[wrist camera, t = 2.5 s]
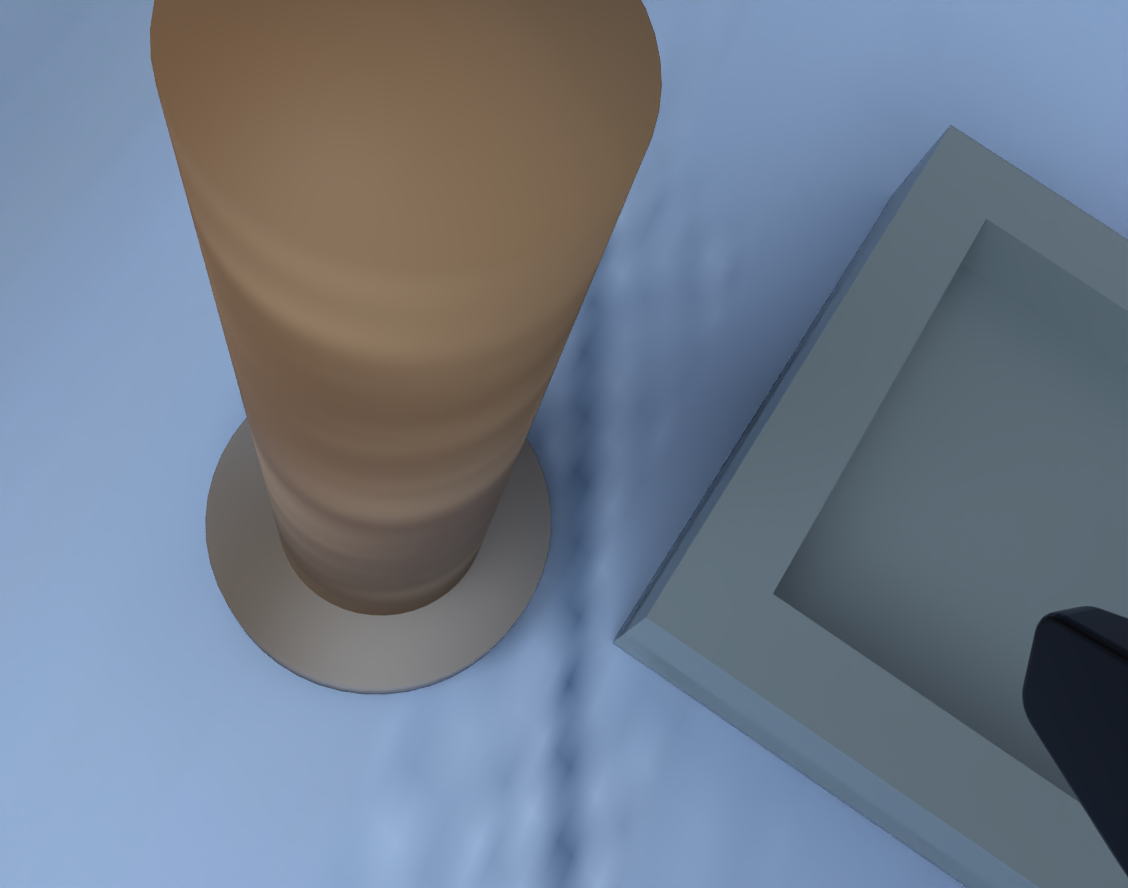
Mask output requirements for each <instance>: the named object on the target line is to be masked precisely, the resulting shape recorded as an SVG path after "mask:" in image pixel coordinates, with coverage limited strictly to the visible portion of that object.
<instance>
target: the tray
mask: <svg viewBox="0 0 1128 888" xmlns="http://www.w3.org/2000/svg"><path fill="white" fill-rule="evenodd" d="M1080 606H1094V607H1098V608H1101V609H1104V610H1106V611H1109V612H1112V613H1115V614H1118V615H1121V616H1123V617H1126V618H1128V240H1127V239H1126V238H1124V237H1123V236H1121V235H1120V234H1118V233H1117V232H1115V231H1114V230H1112V229H1110V228H1109V227H1107V226H1106V225H1104V224H1103V223H1101V222H1100V221H1098V220H1097V219H1095V218H1093V217H1092V216H1090V215H1089V214H1087V213H1086V212H1084V211H1083V210H1081V209H1080V208H1078V207H1077V206H1075V205H1073V204H1072V203H1070V202H1069V201H1067V200H1066V199H1064V198H1063V197H1061V196H1060V195H1058V194H1057V193H1055V192H1053V191H1052V190H1050V189H1049V188H1047V187H1046V186H1044V185H1043V184H1041V183H1040V182H1038V181H1036V180H1035V179H1033V178H1032V177H1030V176H1029V175H1027V174H1026V173H1024V172H1023V171H1021V170H1020V169H1018V168H1016V167H1015V166H1013V165H1012V164H1010V163H1009V162H1007V161H1006V160H1004V159H1003V158H1001V157H999V156H998V155H996V154H995V153H993V152H992V151H990V150H989V149H987V148H986V147H984V146H983V145H981V144H979V143H978V142H976V141H975V140H973V139H972V138H970V137H969V136H967V135H966V134H964V133H963V132H961V131H959V130H958V129H956V128H955V127H953V126H952V125H950V126H949V128H948V129H947V130H946V131H945V132H944V134H943V135H942V136H941V137H940V138H939V140H938V141H937V142H936V143H935V144H934V146H933V147H932V148H931V149H930V150H929V152H928V153H927V154H926V155H925V156H924V158H923V159H922V160H921V161H920V162H919V164H918V165H917V166H916V167H915V168H914V170H913V171H912V172H911V173H910V174H909V176H908V177H907V178H906V179H905V180H904V182H903V183H902V184H901V185H900V186H899V188H898V189H897V190H896V191H895V193H894V194H893V196H892V197H891V199H890V201H889V202H888V204H887V205H886V207H885V209H884V210H883V212H882V213H881V215H880V217H879V218H878V220H877V221H876V223H875V224H874V226H873V228H872V229H871V231H870V232H869V234H868V236H867V237H866V239H865V240H864V242H863V244H862V245H861V247H860V248H859V250H858V252H857V253H856V255H855V256H854V258H853V260H852V261H851V263H850V264H849V266H848V268H847V269H846V271H845V272H844V274H843V276H842V277H841V279H840V280H839V282H838V284H837V285H836V287H835V288H834V290H833V292H832V293H831V295H830V296H829V298H828V299H827V301H826V303H825V304H824V306H823V307H822V309H821V311H820V312H819V314H818V315H817V317H816V319H815V320H814V322H813V323H812V325H811V327H810V328H809V330H808V331H807V333H806V335H805V336H804V338H803V339H802V341H801V343H800V344H799V346H798V347H797V349H796V351H795V352H794V354H793V355H792V357H791V359H790V360H789V362H788V363H787V365H786V366H785V368H784V370H783V371H782V373H781V374H780V376H779V378H778V379H777V381H776V382H775V384H774V386H773V387H772V389H771V390H770V392H769V394H768V395H767V397H766V398H765V400H764V402H763V403H762V405H761V406H760V408H759V410H758V411H757V413H756V414H755V416H754V418H753V419H752V421H751V422H750V424H749V426H748V427H747V429H746V430H745V432H744V434H743V435H742V437H741V438H740V440H739V441H738V443H737V445H736V446H735V448H734V449H733V451H732V453H731V454H730V456H729V457H728V459H727V461H726V462H725V464H724V465H723V467H722V469H721V470H720V472H719V473H718V475H717V477H716V478H715V480H714V481H713V483H712V485H711V486H710V488H709V489H708V491H707V493H706V494H705V496H704V497H703V499H702V501H701V502H700V504H699V505H698V507H697V508H696V510H695V512H694V513H693V515H692V516H691V518H690V520H689V521H688V523H687V524H686V526H685V528H684V529H683V531H682V532H681V534H680V536H679V537H678V539H677V540H676V542H675V544H674V545H673V547H672V548H671V550H670V552H669V553H668V555H667V556H666V558H665V560H664V561H663V563H662V564H661V566H660V568H659V569H658V571H657V572H656V574H655V575H654V577H653V579H652V580H651V582H650V583H649V585H648V587H647V588H646V590H645V591H644V593H643V595H642V596H641V598H640V599H639V601H638V603H637V604H636V606H635V607H634V609H633V611H632V612H631V614H630V615H629V617H628V619H627V620H626V622H625V623H624V625H623V627H622V628H621V630H620V631H619V633H618V635H617V636H616V638H615V639H614V641H613V643H614V644H615V645H617V646H618V647H619V648H621V649H622V650H624V651H625V652H627V653H628V654H630V655H631V656H633V657H634V658H635V659H637V660H638V661H640V662H641V663H643V664H644V665H646V666H647V667H648V668H650V669H651V670H653V671H654V672H656V673H657V674H659V675H660V676H662V677H663V678H664V679H666V680H667V681H669V682H670V683H672V684H673V685H675V686H676V687H677V688H679V689H680V690H682V691H683V692H685V693H686V694H688V695H689V696H691V697H692V698H693V699H695V700H696V701H698V702H699V703H701V704H702V705H704V706H705V707H706V708H708V709H709V710H711V711H712V712H714V713H715V714H717V715H718V716H720V717H721V718H722V719H724V720H725V721H727V722H728V723H730V724H731V725H733V726H734V727H735V728H737V729H738V730H740V731H741V732H743V733H744V734H746V735H747V736H749V737H750V738H751V739H753V740H754V741H756V742H757V743H759V744H760V745H762V746H763V747H765V748H766V749H767V750H769V751H770V752H772V753H773V754H775V755H776V756H778V757H779V758H780V759H782V760H783V761H785V762H786V763H788V764H789V765H791V766H792V767H794V768H795V769H796V770H798V771H799V772H801V773H802V774H804V775H805V776H807V777H808V778H809V779H811V780H812V781H814V782H815V783H817V784H818V785H820V786H821V787H823V788H824V789H825V790H827V791H828V792H830V793H831V794H833V795H834V796H836V797H837V798H838V799H840V800H841V801H843V802H844V803H846V804H847V805H849V806H850V807H852V808H853V809H854V810H856V811H857V812H859V813H860V814H862V815H863V816H865V817H866V818H867V819H869V820H870V821H872V822H873V823H875V824H876V825H878V826H879V827H881V828H882V829H883V830H885V831H886V832H888V833H889V834H891V835H892V836H894V837H895V838H896V839H898V840H899V841H901V842H902V843H904V844H905V845H907V846H908V847H910V848H911V849H912V850H914V851H915V852H917V853H918V854H920V855H921V856H923V857H924V858H925V859H927V860H928V861H930V862H931V863H933V864H934V865H936V866H937V867H939V868H940V869H941V870H943V871H944V872H946V873H947V874H949V875H950V876H952V877H953V878H955V879H956V880H957V881H959V882H960V883H962V884H963V885H965V886H966V887H968V888H1128V877H1127V876H1126V874H1125V873H1124V871H1123V870H1122V868H1121V867H1120V865H1119V864H1118V862H1117V861H1116V859H1115V858H1114V856H1113V855H1112V853H1111V851H1110V850H1109V848H1108V847H1107V845H1106V843H1105V842H1104V840H1103V839H1102V837H1101V835H1100V834H1099V832H1098V831H1097V829H1096V828H1095V826H1094V824H1093V823H1092V821H1091V820H1090V818H1089V816H1088V815H1087V813H1086V812H1085V810H1084V808H1083V807H1082V805H1081V804H1080V802H1079V801H1078V799H1077V797H1076V796H1075V794H1074V793H1073V791H1072V789H1071V788H1070V786H1069V785H1068V783H1067V781H1066V780H1065V778H1064V777H1063V775H1062V774H1061V772H1060V770H1059V769H1058V767H1057V766H1056V764H1055V762H1054V761H1053V759H1052V758H1051V756H1050V754H1049V753H1048V751H1047V750H1046V748H1045V746H1044V745H1043V743H1042V742H1041V740H1040V739H1039V737H1038V735H1037V734H1036V732H1035V731H1034V729H1033V727H1032V726H1031V724H1030V722H1029V720H1028V718H1027V716H1026V713H1025V711H1024V707H1023V702H1022V688H1023V683H1024V678H1025V674H1026V669H1027V665H1028V660H1029V656H1030V651H1031V647H1032V642H1033V638H1034V633H1035V629H1036V626H1037V624H1038V623H1039V621H1040V620H1041V619H1042V617H1043V616H1045V615H1047V614H1048V613H1051V612H1055V611H1060V610H1065V609H1070V608H1075V607H1080Z"/></svg>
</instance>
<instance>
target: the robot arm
mask: <svg viewBox="0 0 1128 888" xmlns="http://www.w3.org/2000/svg"><path fill="white" fill-rule="evenodd" d="M1022 702H1023V707H1024V711H1025V713H1026V716H1027V718H1028V720H1029V722H1030V724H1031V726H1032V727H1033V729H1034V731H1035V732H1036V734H1037V735H1038V737H1039V739H1040V740H1041V742H1042V743H1043V745H1044V746H1045V748H1046V750H1047V751H1048V753H1049V754H1050V756H1051V758H1052V759H1053V761H1054V762H1055V764H1056V766H1057V767H1058V769H1059V770H1060V772H1061V774H1062V775H1063V777H1064V778H1065V780H1066V781H1067V783H1068V785H1069V786H1070V788H1071V789H1072V791H1073V793H1074V794H1075V796H1076V797H1077V799H1078V801H1079V802H1080V804H1081V805H1082V807H1083V808H1084V810H1085V812H1086V813H1087V815H1088V816H1089V818H1090V820H1091V821H1092V823H1093V824H1094V826H1095V828H1096V829H1097V831H1098V832H1099V834H1100V835H1101V837H1102V839H1103V840H1104V842H1105V843H1106V845H1107V847H1108V848H1109V850H1110V851H1111V853H1112V855H1113V856H1114V858H1115V859H1116V861H1117V862H1118V864H1119V865H1120V867H1121V868H1122V870H1123V871H1124V873H1125V874H1126V876H1127V877H1128V618H1126V617H1123V616H1121V615H1118V614H1115V613H1112V612H1109V611H1106V610H1104V609H1101V608H1098V607H1094V606H1080V607H1075V608H1070V609H1065V610H1060V611H1055V612H1051V613H1048V614H1047V615H1045V616H1043V617H1042V619H1041V620H1040V621H1039V623H1038V624H1037V626H1036V629H1035V633H1034V638H1033V642H1032V647H1031V651H1030V656H1029V660H1028V665H1027V669H1026V674H1025V678H1024V683H1023V688H1022Z"/></svg>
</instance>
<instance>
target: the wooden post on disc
mask: <svg viewBox="0 0 1128 888" xmlns="http://www.w3.org/2000/svg"><path fill="white" fill-rule="evenodd" d="M150 43H151V61H152V66H153V72H154V77H155V82H156V87H157V91H158V94H159V98H160V102H161V105H162V109H163V113H164V116H165V120H166V124H167V127H168V131H169V134H170V138H171V142H172V145H173V149H174V153H175V156H176V160H177V164H178V167H179V171H180V175H181V178H182V182H183V186H184V189H185V193H186V197H187V200H188V204H189V207H190V211H191V215H192V218H193V222H194V226H195V229H196V233H197V237H198V240H199V244H200V248H201V251H202V255H203V259H204V262H205V266H206V270H207V273H208V277H209V280H210V284H211V288H212V291H213V295H214V299H215V302H216V306H217V310H218V313H219V317H220V321H221V324H222V328H223V332H224V335H225V339H226V342H227V346H228V350H229V353H230V357H231V361H232V364H233V368H234V372H235V375H236V379H237V383H238V386H239V390H240V394H241V397H242V401H243V405H244V408H245V412H246V415H247V418H246V419H245V420H244V422H243V423H242V424H241V425H240V427H239V428H238V429H237V431H236V432H235V433H234V435H233V436H232V438H231V439H230V441H229V443H228V445H227V446H226V448H225V450H224V452H223V453H222V455H221V457H220V460H219V462H218V465H217V467H216V470H215V472H214V475H213V478H212V482H211V486H210V490H209V494H208V500H207V509H206V542H207V548H208V553H209V559H210V564H211V567H212V570H213V573H214V576H215V579H216V582H217V585H218V587H219V589H220V591H221V593H222V595H223V597H224V599H225V601H226V603H227V605H228V606H229V608H230V610H231V611H232V613H233V615H234V616H235V618H236V619H237V621H238V622H239V624H240V625H241V627H242V628H243V629H244V631H245V632H246V634H247V635H248V636H249V637H250V638H251V639H252V640H253V641H254V642H255V643H256V645H257V646H258V647H259V648H260V649H261V650H262V651H263V652H265V653H266V654H267V655H268V656H269V657H271V658H272V659H273V660H274V661H276V662H277V663H278V664H279V665H281V666H283V667H284V668H286V669H288V670H289V671H291V672H293V673H294V674H296V675H298V676H300V677H302V678H304V679H307V680H309V681H311V682H314V683H316V684H318V685H321V686H325V687H328V688H332V689H336V690H339V691H345V692H352V693H359V694H392V693H400V692H408V691H412V690H416V689H420V688H424V687H428V686H431V685H433V684H436V683H438V682H441V681H443V680H446V679H448V678H451V677H453V676H454V675H456V674H458V673H460V672H461V671H463V670H465V669H467V668H468V667H470V666H471V665H473V664H474V663H475V662H477V661H478V660H479V659H481V658H482V657H483V656H485V655H486V654H487V653H488V652H489V651H490V650H491V649H492V648H493V647H494V646H496V645H497V644H498V643H499V642H500V641H501V640H502V639H503V637H504V636H505V635H506V634H507V632H508V631H509V630H510V628H511V627H512V626H513V625H514V623H515V622H516V621H517V619H518V618H519V617H520V615H521V614H522V612H523V611H524V609H525V608H526V606H527V604H528V603H529V601H530V599H531V597H532V596H533V594H534V592H535V590H536V587H537V585H538V583H539V580H540V578H541V575H542V573H543V570H544V566H545V562H546V558H547V555H548V550H549V542H550V534H551V509H550V502H549V495H548V489H547V485H546V482H545V478H544V475H543V471H542V468H541V466H540V464H539V461H538V459H537V457H536V454H535V452H534V450H533V448H532V446H531V445H530V443H529V441H528V440H527V438H526V437H527V434H528V432H529V430H530V427H531V425H532V422H533V420H534V418H535V415H536V413H537V411H538V408H539V406H540V403H541V401H542V399H543V396H544V394H545V391H546V389H547V387H548V384H549V382H550V380H551V377H552V375H553V372H554V370H555V368H556V365H557V363H558V360H559V358H560V356H561V353H562V351H563V349H564V346H565V344H566V341H567V339H568V337H569V334H570V332H571V329H572V327H573V325H574V322H575V320H576V318H577V315H578V313H579V310H580V308H581V306H582V303H583V301H584V298H585V296H586V294H587V291H588V289H589V287H590V284H591V282H592V279H593V277H594V275H595V272H596V270H597V267H598V265H599V263H600V260H601V258H602V255H603V253H604V251H605V248H606V246H607V244H608V241H609V239H610V236H611V234H612V232H613V229H614V227H615V224H616V222H617V220H618V217H619V215H620V213H621V210H622V208H623V205H624V203H625V201H626V198H627V196H628V193H629V191H630V189H631V186H632V184H633V182H634V179H635V177H636V174H637V172H638V170H639V167H640V165H641V162H642V160H643V158H644V155H645V153H646V151H647V148H648V146H649V143H650V141H651V139H652V136H653V132H654V128H655V125H656V121H657V117H658V114H659V107H660V97H661V87H662V82H661V64H660V56H659V51H658V47H657V42H656V37H655V33H654V30H653V27H652V25H651V22H650V19H649V16H648V14H647V11H646V8H645V6H644V5H643V3H642V1H641V0H155V1H154V7H153V14H152V20H151V27H150Z"/></svg>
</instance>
